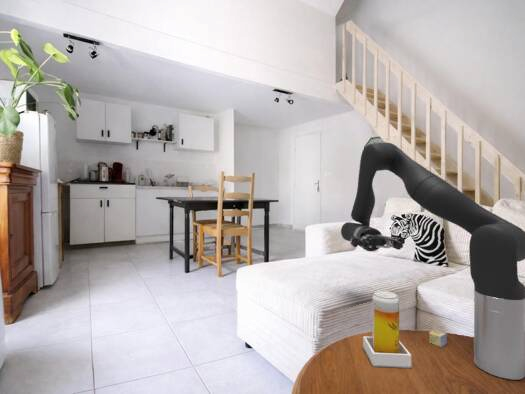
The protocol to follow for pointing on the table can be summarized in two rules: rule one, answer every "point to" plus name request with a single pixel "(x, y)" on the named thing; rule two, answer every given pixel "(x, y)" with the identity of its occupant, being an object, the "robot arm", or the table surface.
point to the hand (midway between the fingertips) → (383, 245)
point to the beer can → (385, 322)
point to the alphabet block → (437, 338)
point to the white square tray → (387, 356)
